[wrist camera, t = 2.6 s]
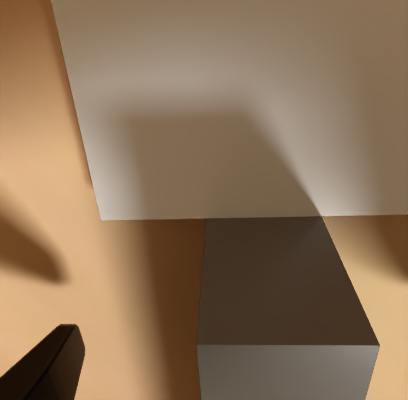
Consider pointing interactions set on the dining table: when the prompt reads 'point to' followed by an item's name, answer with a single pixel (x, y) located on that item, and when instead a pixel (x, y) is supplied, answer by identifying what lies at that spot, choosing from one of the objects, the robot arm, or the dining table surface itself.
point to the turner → (251, 165)
